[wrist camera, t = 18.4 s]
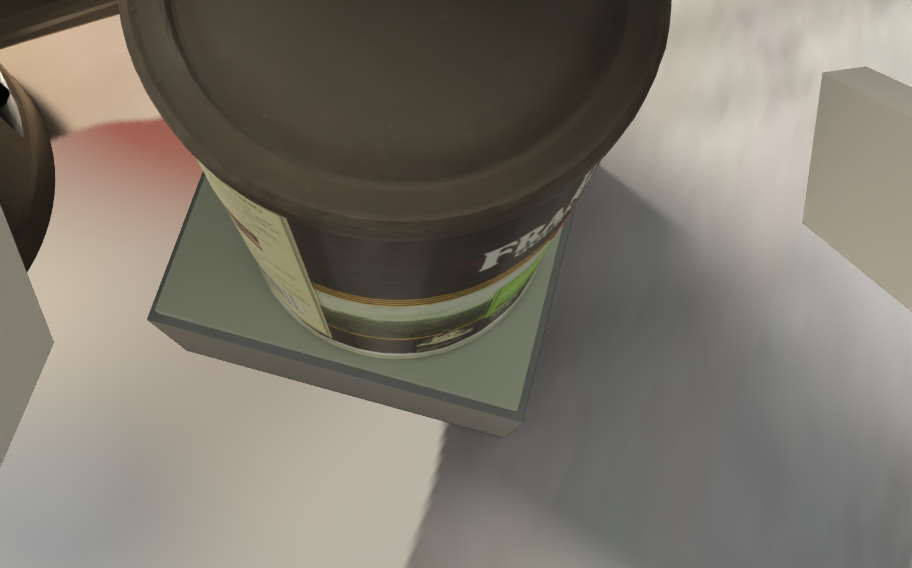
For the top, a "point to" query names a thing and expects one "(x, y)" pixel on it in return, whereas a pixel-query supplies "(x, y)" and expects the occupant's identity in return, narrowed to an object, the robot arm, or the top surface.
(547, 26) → the coffee can
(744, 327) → the top surface
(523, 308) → the base block
